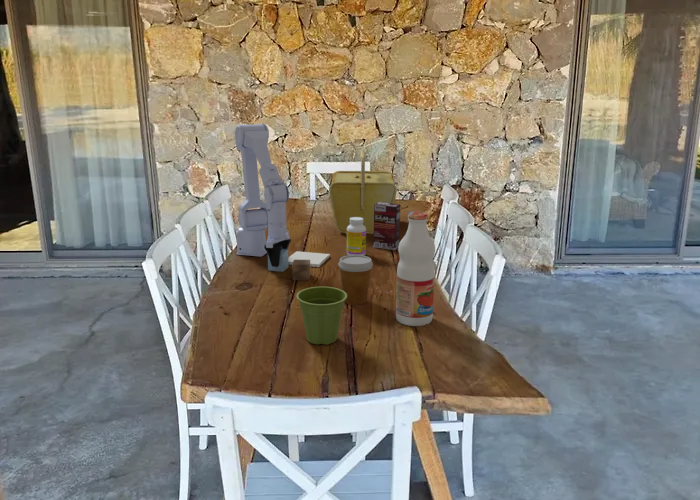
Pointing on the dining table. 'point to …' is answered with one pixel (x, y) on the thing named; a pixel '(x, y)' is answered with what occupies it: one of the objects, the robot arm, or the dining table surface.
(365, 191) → the picnic basket
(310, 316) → the plant pot
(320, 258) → the plate
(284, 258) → the blue block
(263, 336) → the dining table surface
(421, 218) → the fruit juice
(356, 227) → the supplement bottle
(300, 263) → the walnut block
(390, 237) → the supplement box
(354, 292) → the disposable coffee cup
